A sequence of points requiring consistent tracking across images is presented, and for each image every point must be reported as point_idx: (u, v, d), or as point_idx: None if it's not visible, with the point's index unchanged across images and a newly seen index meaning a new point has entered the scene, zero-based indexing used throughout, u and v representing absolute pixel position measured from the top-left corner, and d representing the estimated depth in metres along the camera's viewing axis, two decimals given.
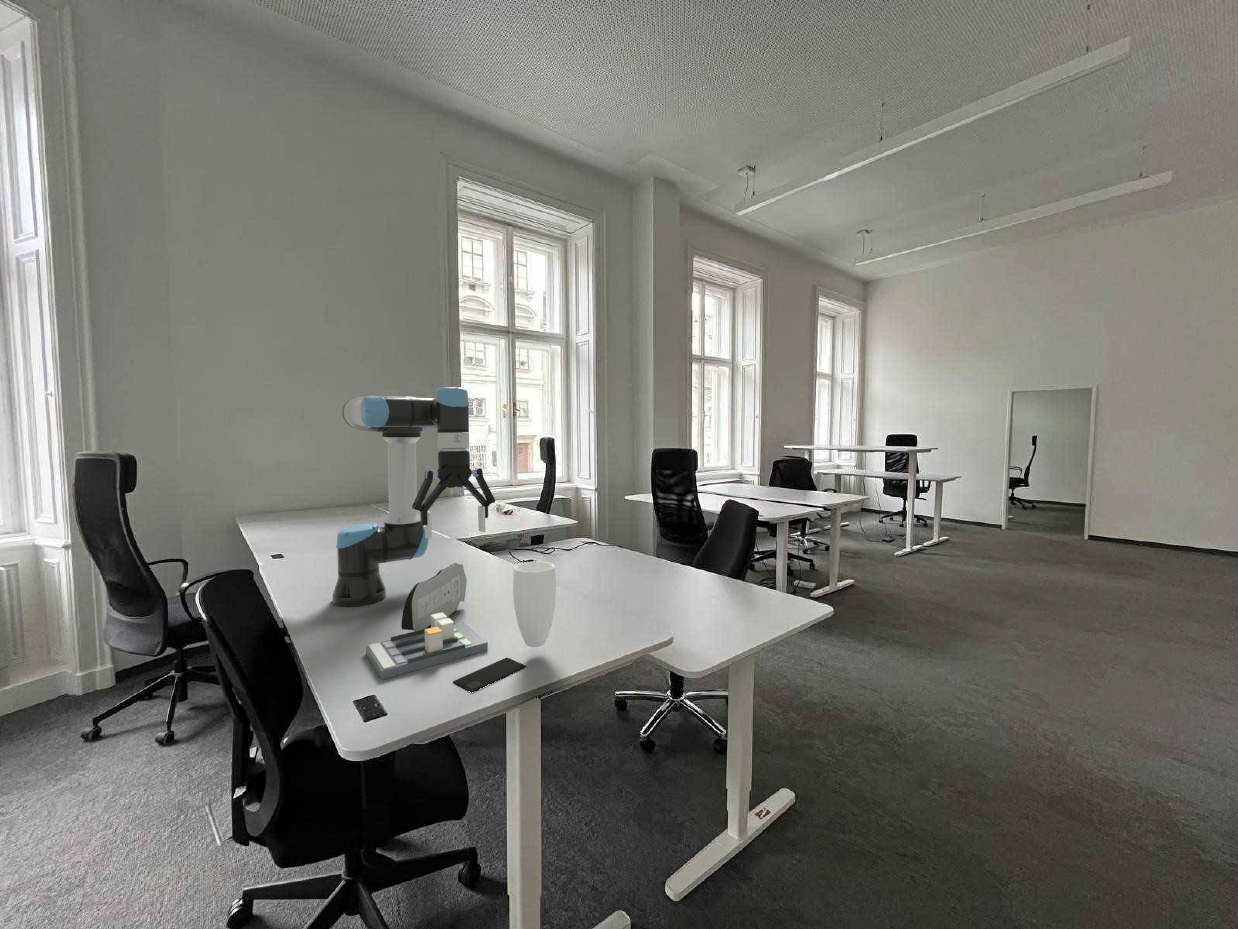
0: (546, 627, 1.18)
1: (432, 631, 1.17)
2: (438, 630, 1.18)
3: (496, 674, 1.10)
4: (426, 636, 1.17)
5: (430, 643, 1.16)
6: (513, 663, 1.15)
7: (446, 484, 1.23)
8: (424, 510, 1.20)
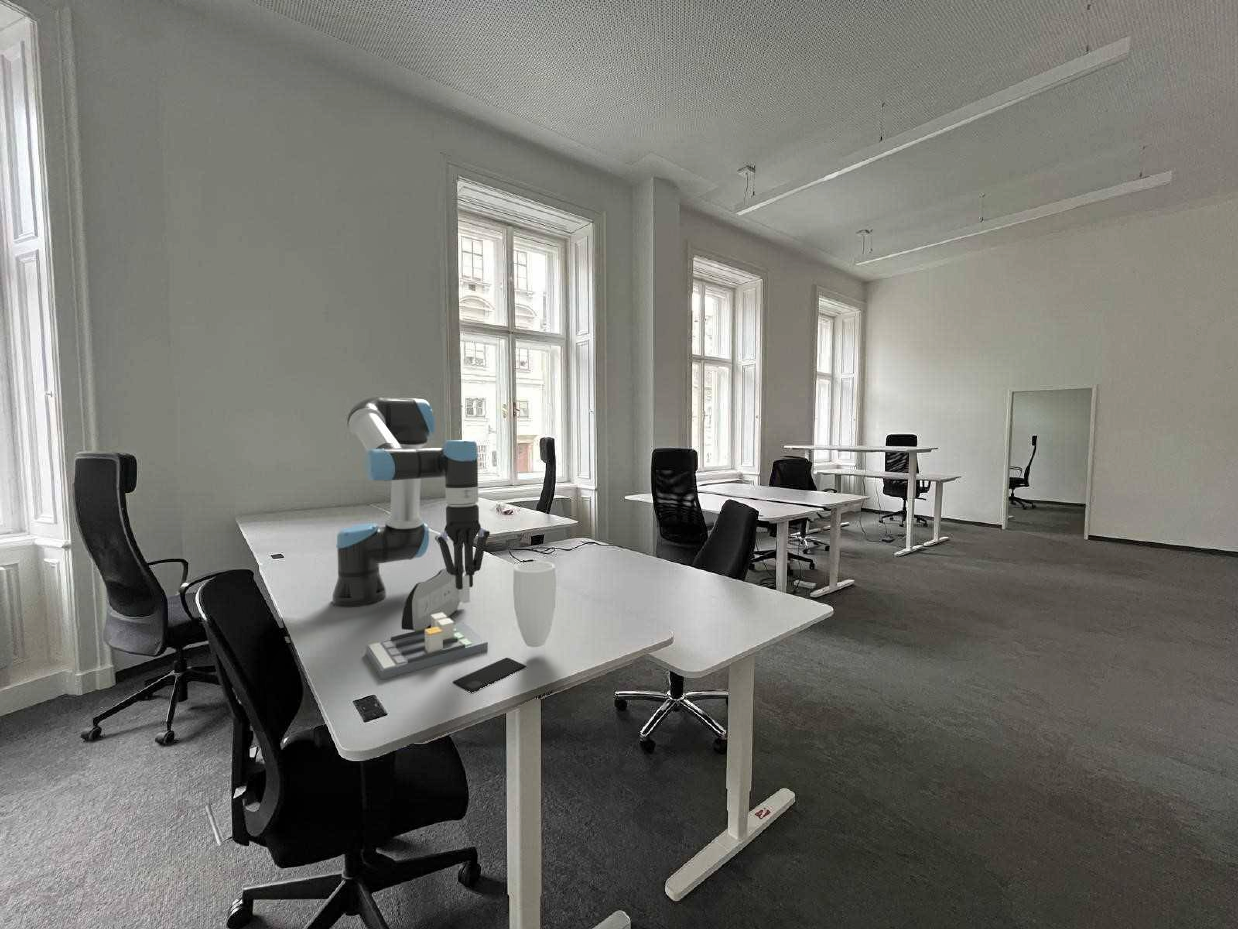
0: (546, 627, 1.18)
1: (432, 631, 1.17)
2: (438, 630, 1.18)
3: (496, 674, 1.10)
4: (426, 636, 1.17)
5: (430, 643, 1.16)
6: (513, 663, 1.15)
7: (461, 542, 1.19)
8: (460, 575, 1.20)
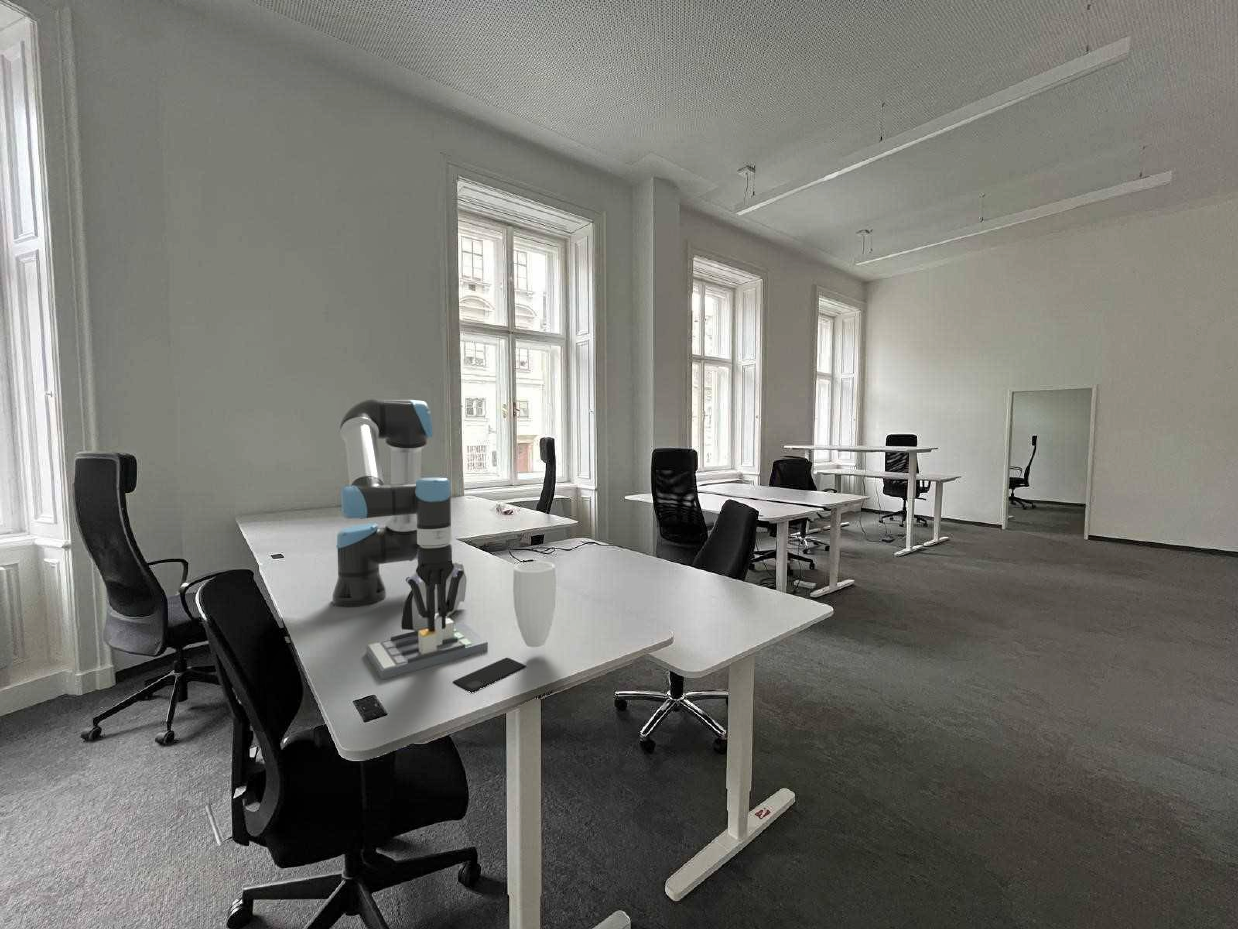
0: (546, 627, 1.18)
1: (426, 633, 1.16)
2: None
3: (496, 674, 1.10)
4: (420, 638, 1.16)
5: (424, 645, 1.15)
6: (513, 663, 1.15)
7: (433, 584, 1.15)
8: (432, 617, 1.16)
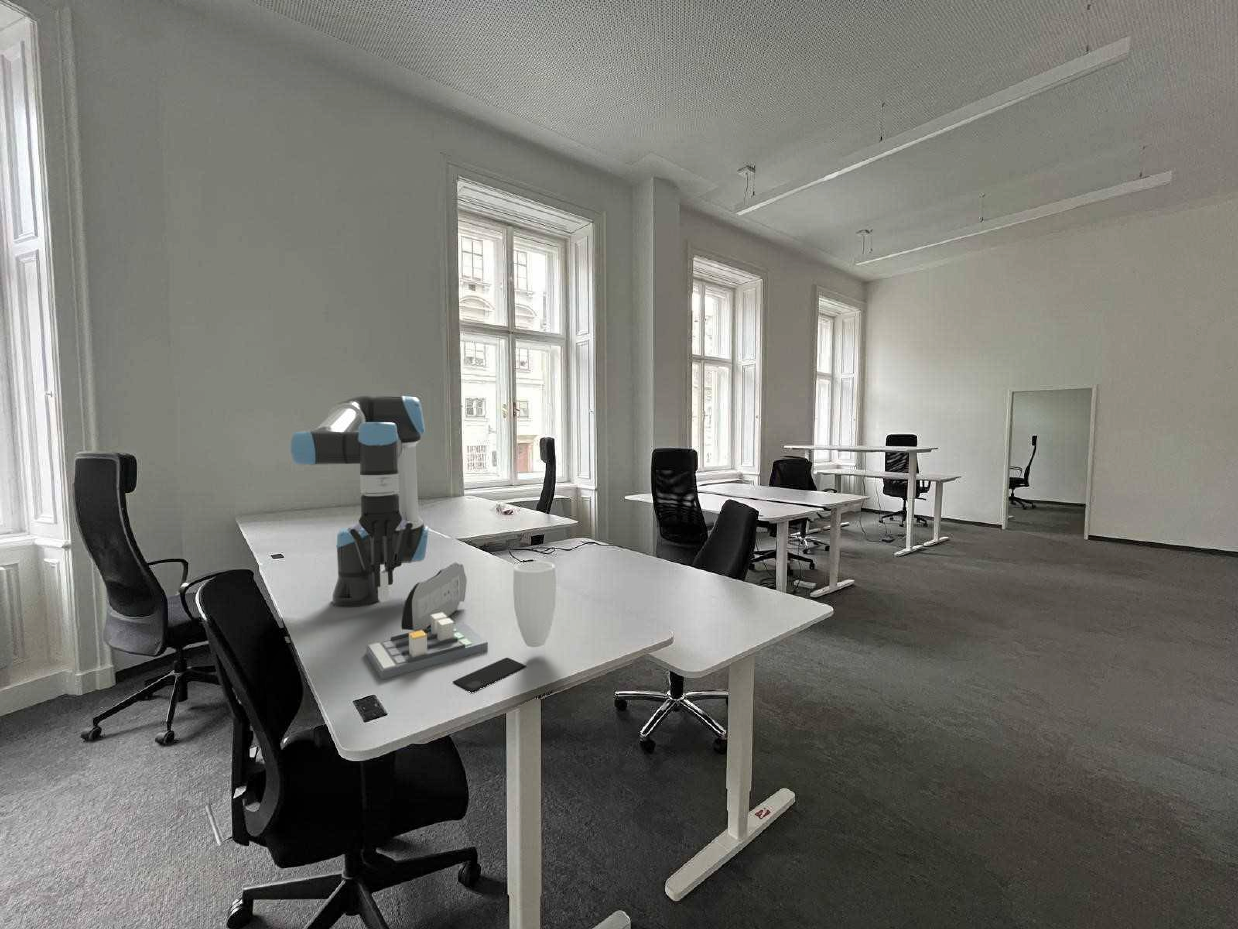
0: (546, 627, 1.18)
1: (416, 635, 1.15)
2: (422, 634, 1.16)
3: (496, 674, 1.10)
4: (410, 640, 1.15)
5: (414, 648, 1.14)
6: (513, 663, 1.15)
7: (377, 535, 1.08)
8: (377, 571, 1.08)
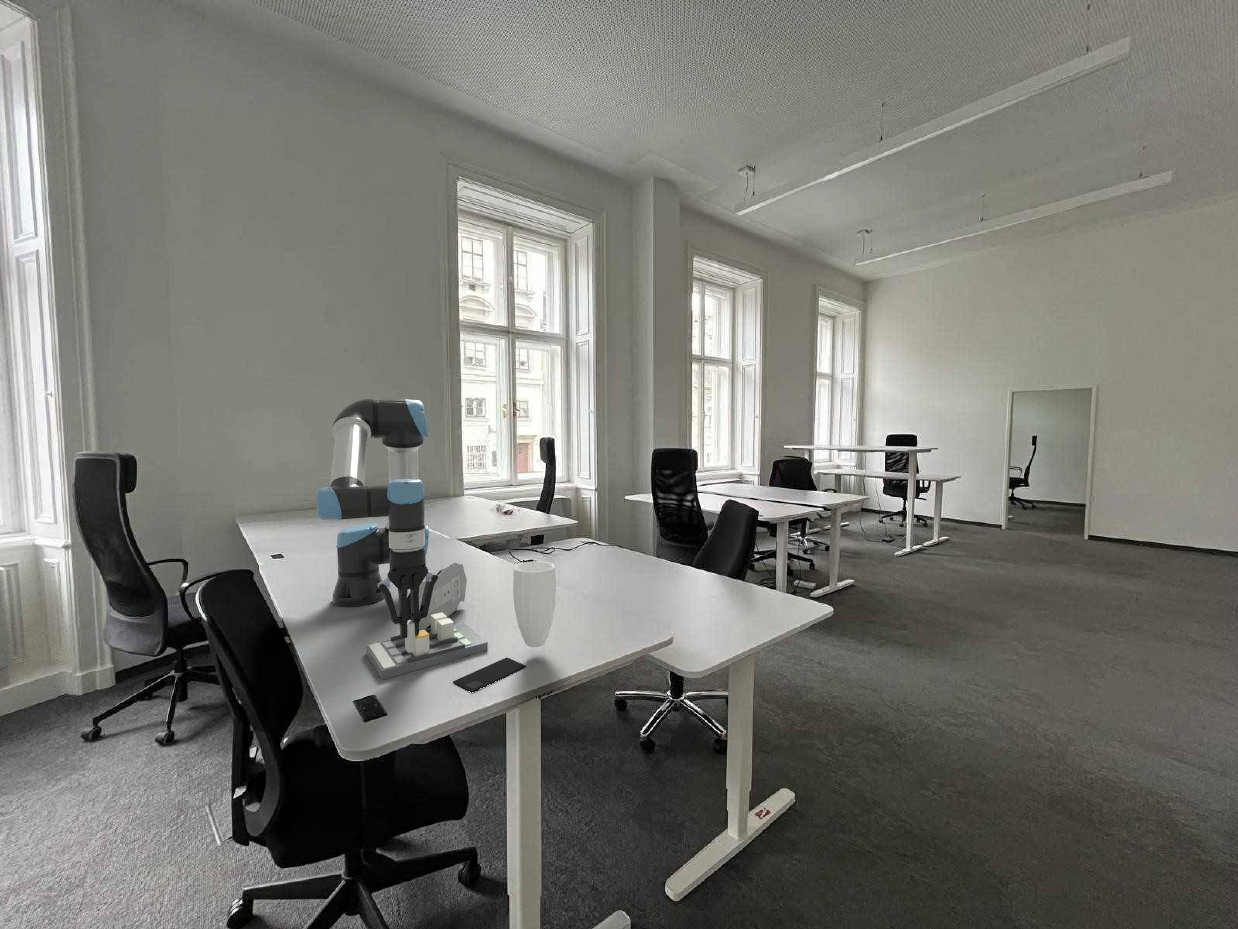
0: (546, 627, 1.18)
1: None
2: (425, 633, 1.16)
3: (496, 674, 1.10)
4: None
5: (416, 647, 1.14)
6: (513, 663, 1.15)
7: (405, 589, 1.12)
8: (404, 623, 1.12)
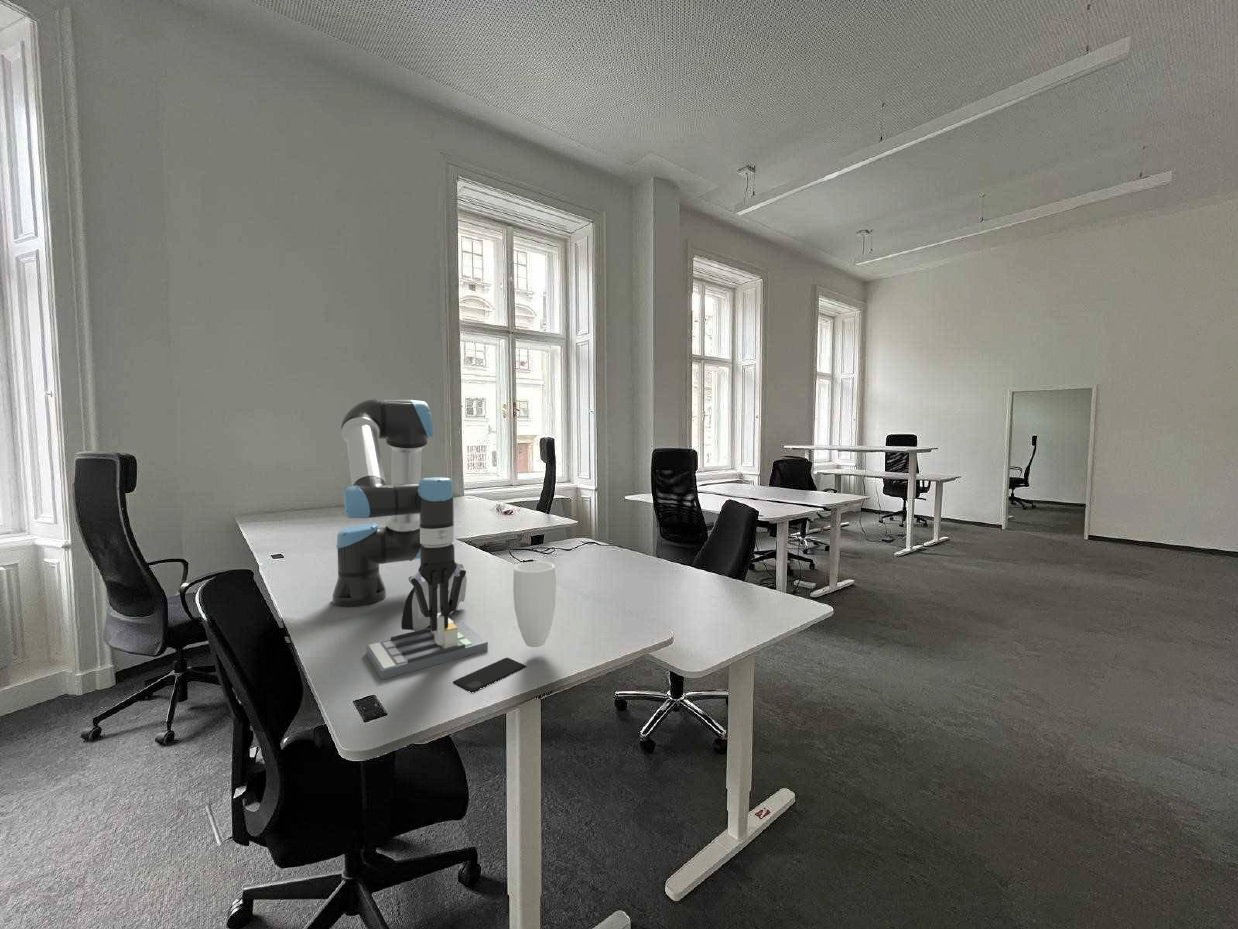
0: (546, 627, 1.18)
1: None
2: (453, 626, 1.20)
3: (496, 674, 1.10)
4: None
5: (446, 639, 1.18)
6: (513, 663, 1.15)
7: (435, 583, 1.16)
8: (434, 616, 1.17)
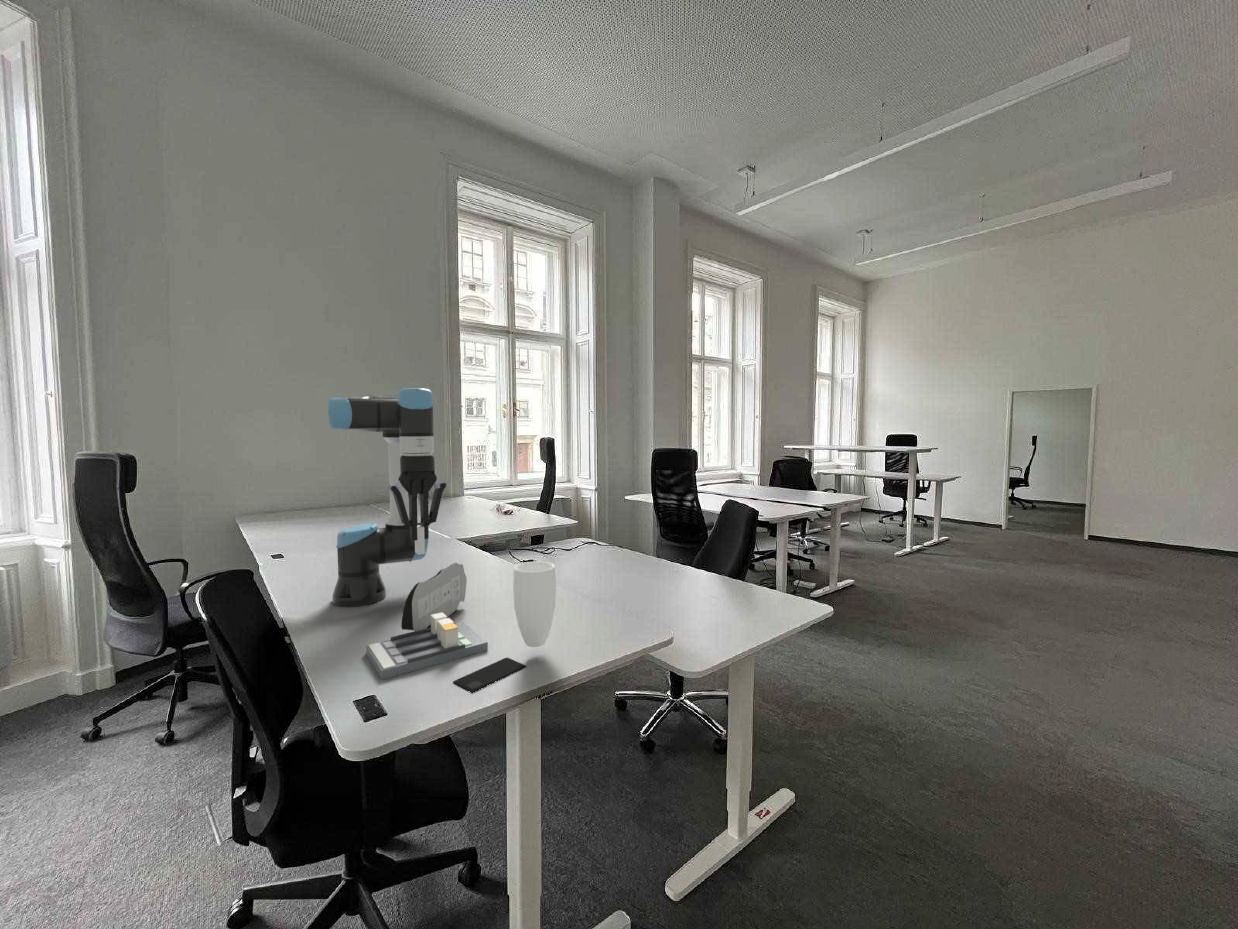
0: (546, 627, 1.18)
1: (448, 627, 1.19)
2: (454, 626, 1.20)
3: (496, 674, 1.10)
4: (442, 632, 1.20)
5: (446, 639, 1.18)
6: (513, 663, 1.15)
7: (415, 492, 1.17)
8: (414, 526, 1.18)
